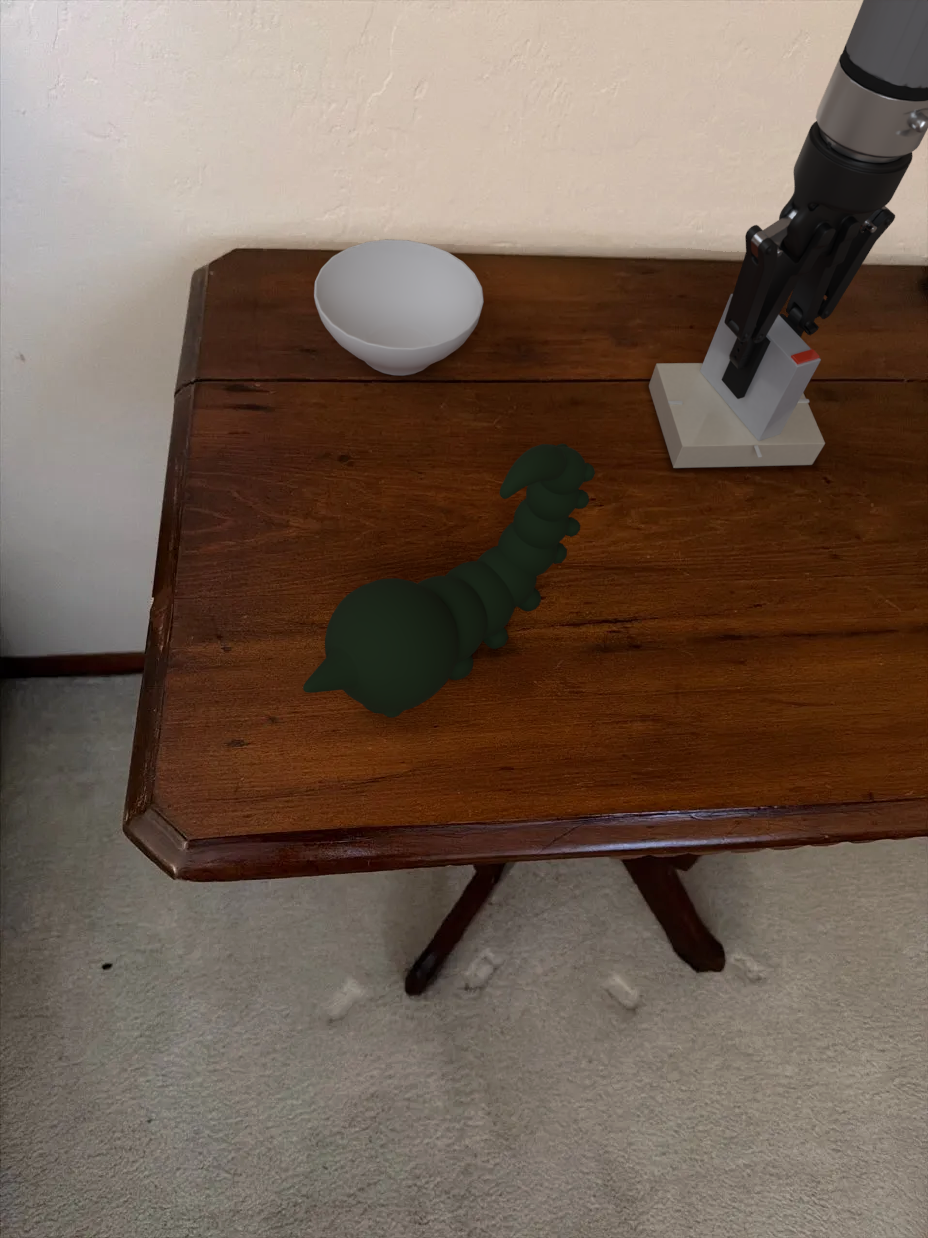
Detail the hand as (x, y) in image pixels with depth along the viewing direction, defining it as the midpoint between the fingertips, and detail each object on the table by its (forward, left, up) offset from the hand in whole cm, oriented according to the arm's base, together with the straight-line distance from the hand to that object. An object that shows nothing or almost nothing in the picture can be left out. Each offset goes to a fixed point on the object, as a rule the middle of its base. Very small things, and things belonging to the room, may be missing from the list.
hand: (747, 383), depth 83 cm
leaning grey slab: (0, 0, -2) cm, 2 cm away
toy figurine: (+31, +24, -6) cm, 40 cm away
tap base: (0, 0, -5) cm, 5 cm away
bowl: (+32, -11, -6) cm, 34 cm away
